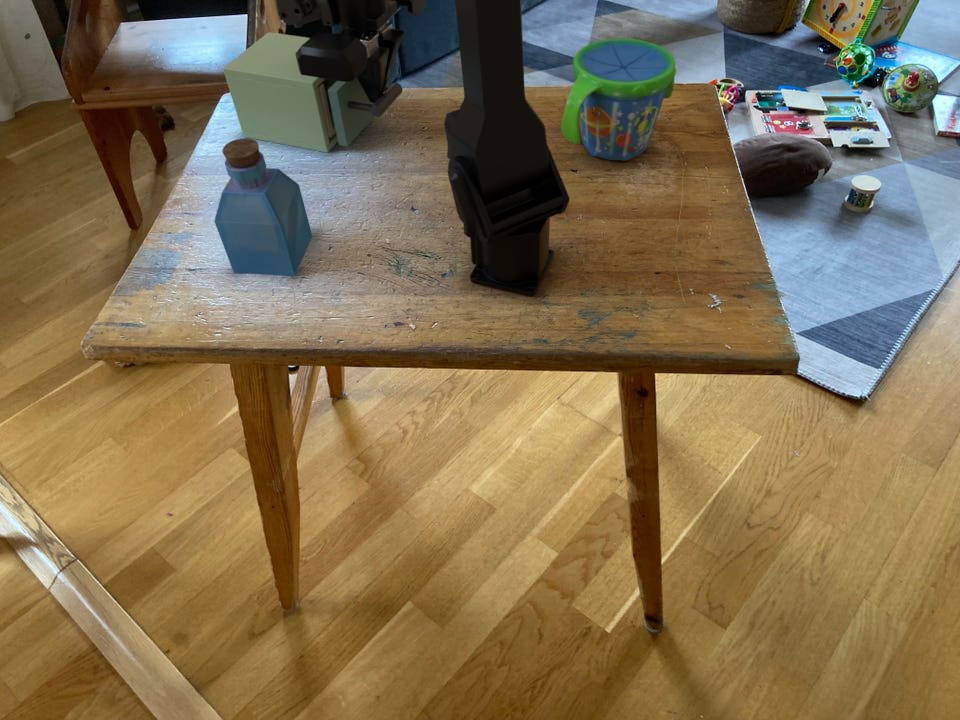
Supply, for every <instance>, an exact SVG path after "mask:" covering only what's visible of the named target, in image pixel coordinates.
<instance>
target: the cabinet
mask: <svg viewBox="0 0 960 720" xmlns="http://www.w3.org/2000/svg"><path fill="white" fill-rule="evenodd" d="M310 38H311V37H306V36H300V35H299V36H298V35H291V34H284V33H277V32H271V31H268V32H267V33H265V34H264V35H263V36H261V37H260V38H259V39H258V40H256V41H255V42H254V43H253V44H252V45H250V46H249V47H248V48H247V49H244V51H243V52H241V53H240V54H239V55H238V56H237V57H235V58H234V59H233V60H231V61H230V62H229V63H227V64H226V65H225V66H224V67H223V68H222V71H223V75H224V77H225V80H226V84H227V87H228V90H229V93H230V96H231V100H232V103H233V106H234V109H235V113H236V116H237V120H238V122H239V126H240V129H241V131H242V136H243V138H248V139H253V140H258V141H259V140H260V141H264V142H270V143H276V144H280V145H286V146H290V147H296V148H301V149H305V150H312V151H317V152H322V153H329V152H330V151H331V150H332V149H333V148H334V147H335V145H336V144H337V143H338V139H337V134H336V133H335V134H334V135H333V136H332V137H331V138H330V137H328V134H327V129H326V125H325V120H324V115H323V111H322V106H321V101H320V96H319V92H318V87H317V86H318V85H319V84H320V83H321V82H322V81H324V80H325V79H324V78H318V77H312V76H306V75H301V73H300V72H299V68H298V63H297V59H296V55H295V53H296V52H297V51H298V50H299V48H300V47H301V46H302V45H303V44H304V43H305V42H306V41H308V40H309V39H310Z"/></svg>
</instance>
